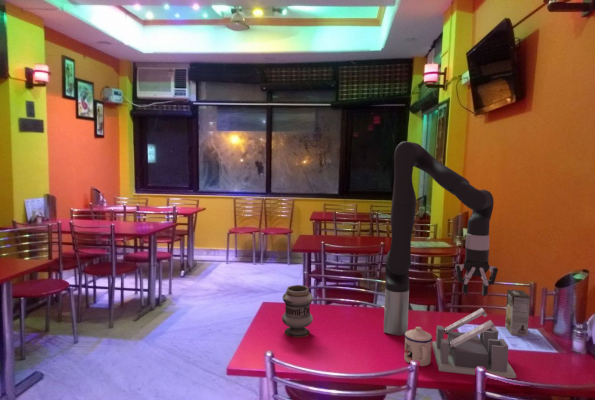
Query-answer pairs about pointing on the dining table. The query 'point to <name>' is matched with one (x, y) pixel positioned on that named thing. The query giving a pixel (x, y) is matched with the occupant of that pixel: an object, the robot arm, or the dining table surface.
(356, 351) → the dining table surface
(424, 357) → the teacup with lid
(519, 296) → the coffee box
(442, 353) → the base
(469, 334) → the strap
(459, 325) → the grey hinged latch bar
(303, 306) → the apothecary jar
